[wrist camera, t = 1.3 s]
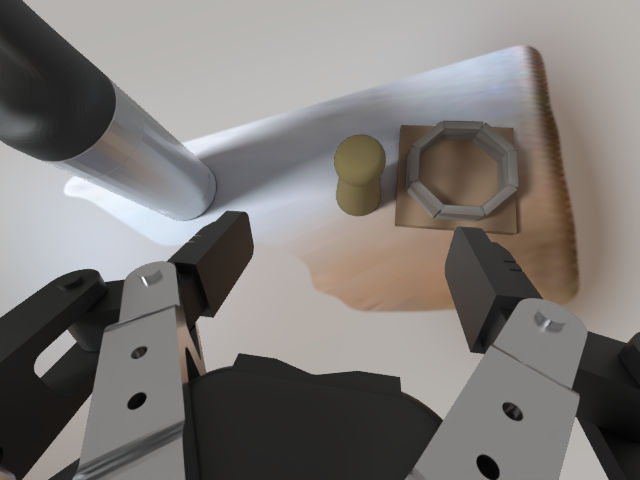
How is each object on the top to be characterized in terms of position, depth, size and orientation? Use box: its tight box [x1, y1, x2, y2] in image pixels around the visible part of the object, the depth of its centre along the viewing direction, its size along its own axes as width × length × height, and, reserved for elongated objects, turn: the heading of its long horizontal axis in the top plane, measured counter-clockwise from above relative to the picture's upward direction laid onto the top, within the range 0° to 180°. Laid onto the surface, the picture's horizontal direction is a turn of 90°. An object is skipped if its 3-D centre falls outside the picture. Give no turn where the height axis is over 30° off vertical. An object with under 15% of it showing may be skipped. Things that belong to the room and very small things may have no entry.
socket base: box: [395, 121, 519, 235], centre depth 34 cm, size 14×14×4 cm
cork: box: [334, 135, 386, 216], centre depth 31 cm, size 6×6×11 cm
